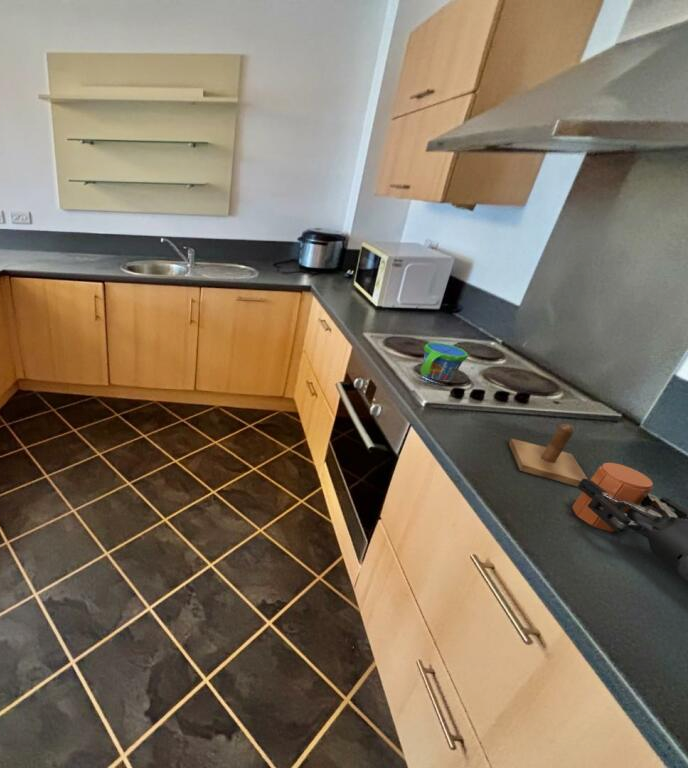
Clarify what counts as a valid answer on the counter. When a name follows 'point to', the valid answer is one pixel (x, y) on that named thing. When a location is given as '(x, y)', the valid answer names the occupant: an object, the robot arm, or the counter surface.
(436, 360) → the snack cup
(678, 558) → the robot arm
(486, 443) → the counter surface
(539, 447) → the stand
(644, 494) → the terracotta cup
